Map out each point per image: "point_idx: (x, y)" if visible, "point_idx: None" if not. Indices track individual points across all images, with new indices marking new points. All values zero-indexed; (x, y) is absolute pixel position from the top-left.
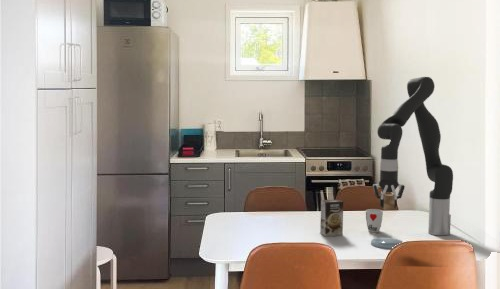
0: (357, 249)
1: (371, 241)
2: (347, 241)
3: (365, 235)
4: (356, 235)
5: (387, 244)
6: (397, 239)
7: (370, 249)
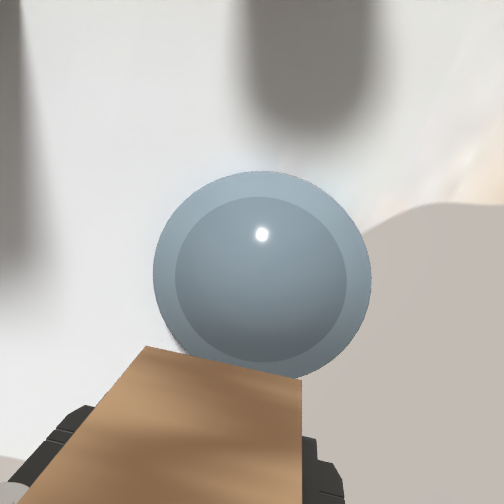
0: (52, 347)
1: (155, 259)
2: (24, 168)
3: (186, 9)
4: (117, 2)
5: (235, 344)
6: (357, 234)
7: (125, 359)
